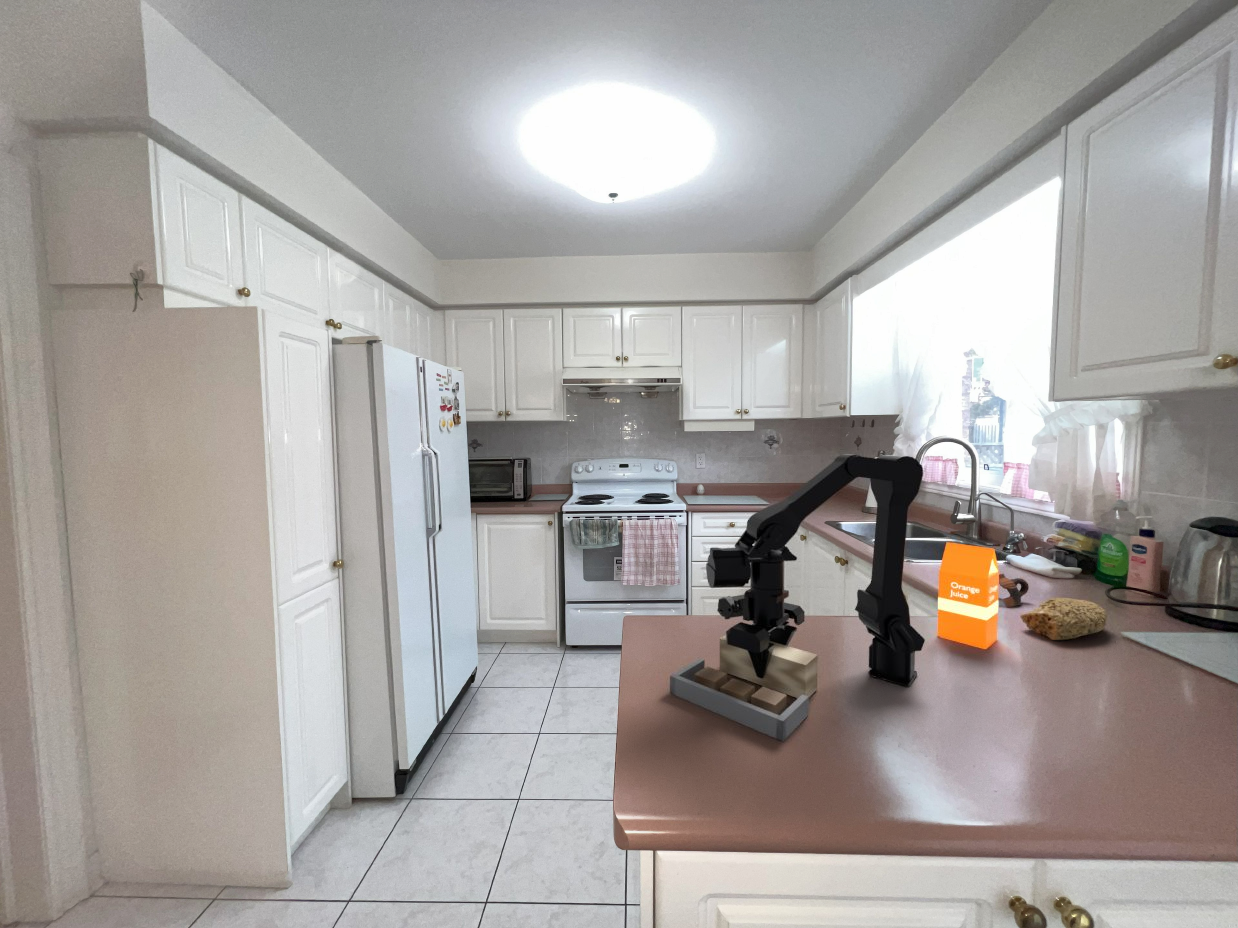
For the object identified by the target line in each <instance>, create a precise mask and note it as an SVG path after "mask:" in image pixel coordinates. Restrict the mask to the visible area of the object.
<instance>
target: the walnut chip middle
mask: <svg viewBox="0 0 1238 928" xmlns="http://www.w3.org/2000/svg"><path fill="white" fill-rule="evenodd" d="M755 690H756V686H755V685H752V684H749V683H746V682H744V681H741V680H738V679H736V678H731V679H730V680H728V681H727V683H726V684H724V685H723V686H721V687H720V692H721V693H724V694H726V695H729V696H731V697H734V698H736V699H739V700H741V701H744V702H746V703H749V704H751V696H752V695H753V694H754V693H755V692H756V691H755Z"/></svg>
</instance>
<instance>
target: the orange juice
mask: <svg viewBox="0 0 1238 928" xmlns="http://www.w3.org/2000/svg"><path fill="white" fill-rule="evenodd" d="M995 550H996V549H995V548H993V547H991V548H990V547H982V546H977V545H968V544H962V543H954V542H948V541H946V544H945V547H944V551H943V556H942V560H941V564H940V567H939V569H938V593H937V594H938V597H937V637H938V636H940V637H939V638H942V639H946V640H949V641H953V642H957V643H961V644H964V645H969V646H970V647H971V646H972V647H974V648H975V647H976V648H980V649H982V650H986V649H988V648H989V647H990V646H992V645H993V644H994V643H995V642H996V641H997V640H998V617H999V616H998V615H999V614H998V613H999V587H1000V584H999V574H1000V571H999V565H998V561H997V555H996V552H995Z"/></svg>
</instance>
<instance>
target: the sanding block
mask: <svg viewBox="0 0 1238 928" xmlns="http://www.w3.org/2000/svg"><path fill="white" fill-rule="evenodd" d="M770 643H773V644H775V647H774V650H773V653H772V655H771V658H770V661H769V664H768V667H767V670H766V673H765V675H764V678H759V677H757V675H756V673H755V670H754V667H753V664H752V661H751V658H750V655H749V653H748V650H744V649H741V648H738V647H735V646H731V645H728V644H727V643H726V634H725V635H723V636H721V637H720V638H719V671H722V672H724V673H727V675H732V676H734V677H737V678H740V679H742V680H746V681H748V682H751V683H753V684H757V685H759V686H761V687H766V688H769V689H771V690H774V691H777V692H780V693H782V694H785V695H788V696H790V697H794V698H796V699H798V698H799V697H800V696H801V695H802V694H803V695H806V696H808V697H809V698H810V697H811V696H812V695H813V694H814V693H815V692H816V691H817V690H818V664H819V663H818V661H819V660H818V659H819V658H818V654H815V653H812V652H810V651H806V650H803V649H799V648H795V647H792V646H789V645H788V646H785V645H782V644H778V643H775V642H771V641H770Z"/></svg>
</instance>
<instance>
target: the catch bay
mask: <svg viewBox="0 0 1238 928" xmlns="http://www.w3.org/2000/svg"><path fill="white" fill-rule="evenodd" d="M705 665H706V663H705V659H703V658H698V659H695V661H693V662H691V663H690V664H687V665H686V666H685V667H683V668H681V669H679V670H678V671H676V672H674V673H672V674H671V675H669V694H671V695H673V696H676V697H678V698H681V699H683V700H685V701H687V702H690V703H692V704H694V705H697V706H699V707H702V708H704V709H706V710H708V711H711V712H714V713H715V714H718V715H720V716H722V717H725V718H726V719H729V720H732V721H733V722H736V723H740V724H741V725H743V726H746V727H748V728H751V729H752V730H755V731H757V732H759V733H762V734H764V735H766V734H767V736H768V737H772V738H773V737H774V738H773V739H776V740H778V739H779V741H780V740H781V741H780V742H785V740H786V739H788V737H790V735H791V734H792V733H793V732H794V731H795V730H796V729H797V728H798V727H799V726H800V725H801V724H802V723H803V722H804V721H805V720H806V719H807V718H808V717H809V716H808V715H809V710H810V708H809V707H810V706H809V705H810V703H809V702H810V697H808V696H806V695H803V694H802V695H801V696H800V697H799V698H796V700H795V701H794V702H793V703H791V705H790V706H787V709H786V710H785V711H784V712H783V713H782V714H781V715H780V716H779V715H777V714H774V713H772V712H769V711H767V710H764V709H762V708H759V707H757V706H754V705H752V704H749V703H746V702H744V701H741V700H739V699H736V698H734V697H731V696H729V695H726V694H724V693H721V692H719V691H716V690H714V689H711V688H708V687H706V686H703V685H701V684H698V683H696V682H694V674H696V673H697V672H699V671H700V670H702V669H704V668H705V667H706V666H705ZM807 716H808V717H807ZM806 717H807V718H806ZM805 718H806V719H805ZM804 719H805V720H804ZM803 720H804V721H803ZM802 721H803V722H802ZM801 722H802V723H801ZM800 723H801V724H800ZM797 726H798V727H797ZM795 728H796V729H795Z"/></svg>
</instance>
